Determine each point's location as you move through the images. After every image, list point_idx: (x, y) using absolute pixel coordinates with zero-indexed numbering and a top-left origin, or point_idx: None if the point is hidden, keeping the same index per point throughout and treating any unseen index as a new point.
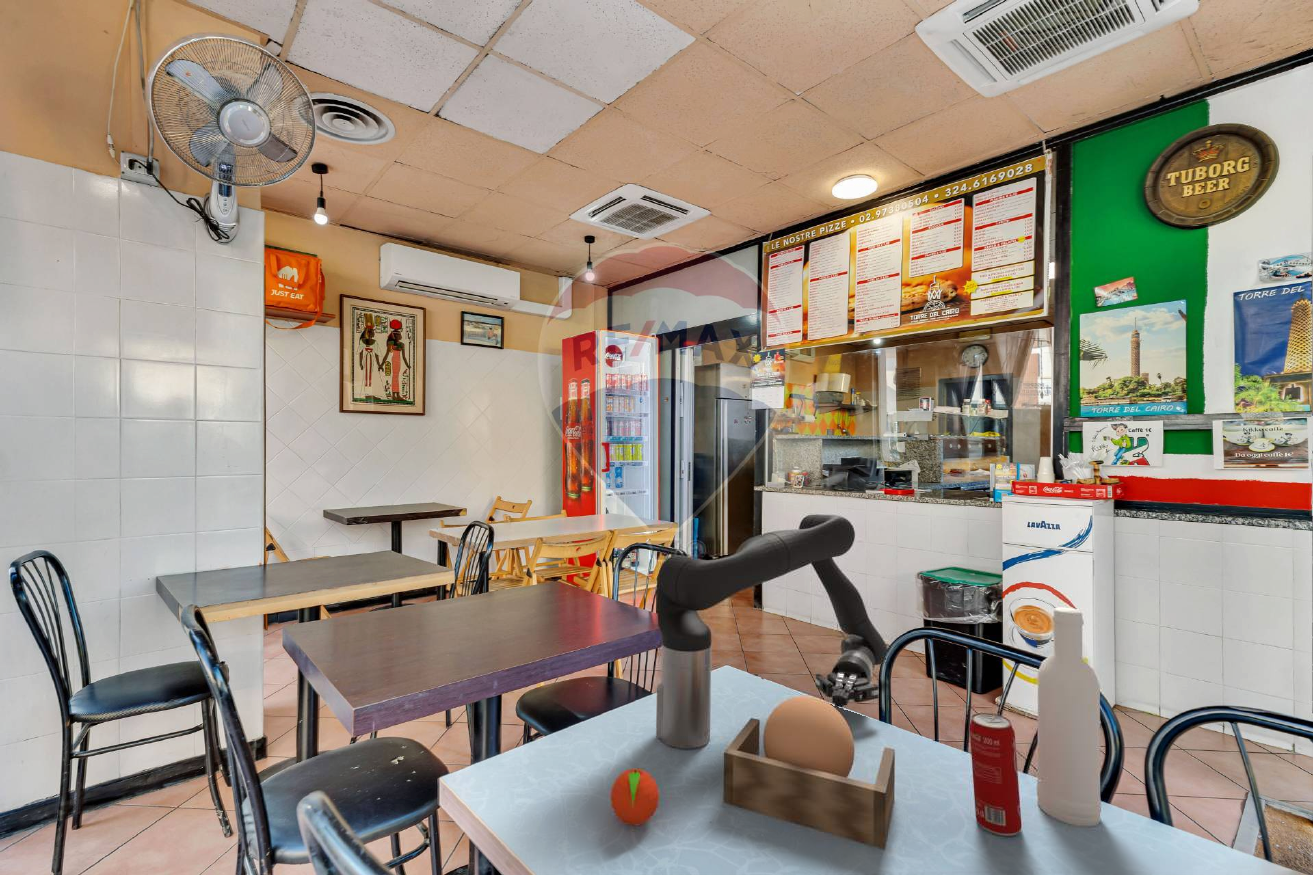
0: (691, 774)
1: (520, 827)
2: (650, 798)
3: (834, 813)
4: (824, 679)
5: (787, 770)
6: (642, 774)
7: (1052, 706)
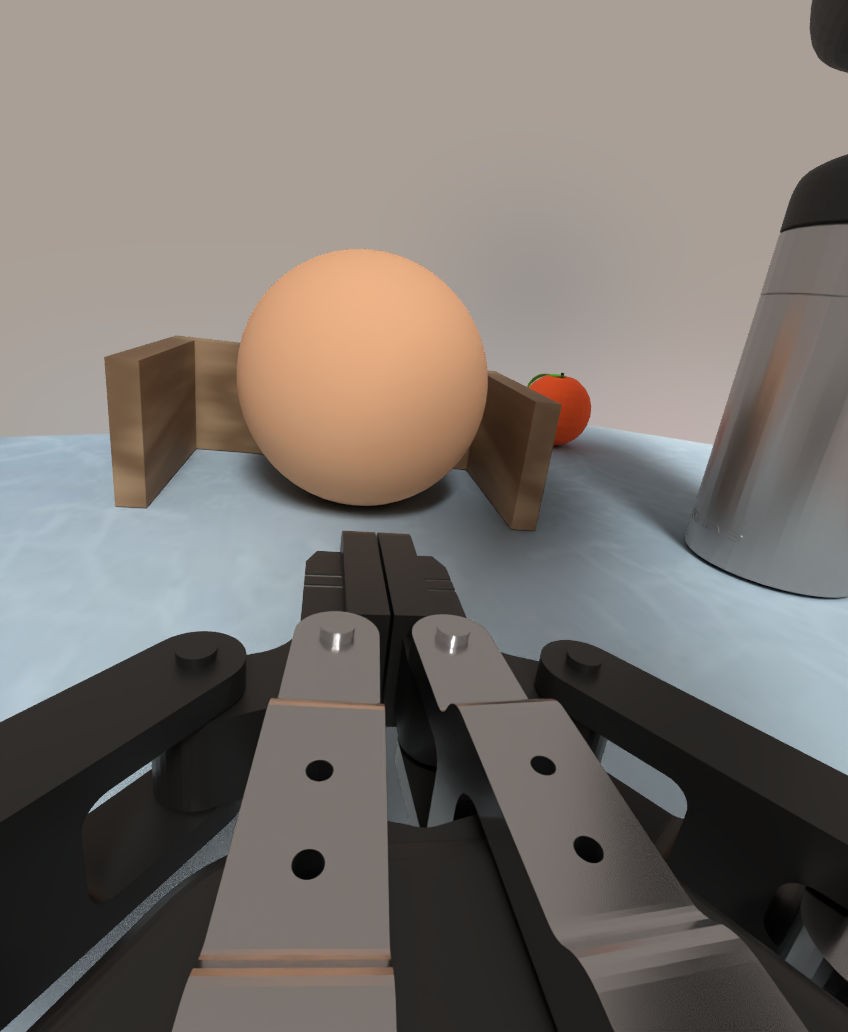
0: (590, 492)
1: (626, 435)
2: None
3: None
4: (755, 763)
5: None
6: (552, 376)
7: None
